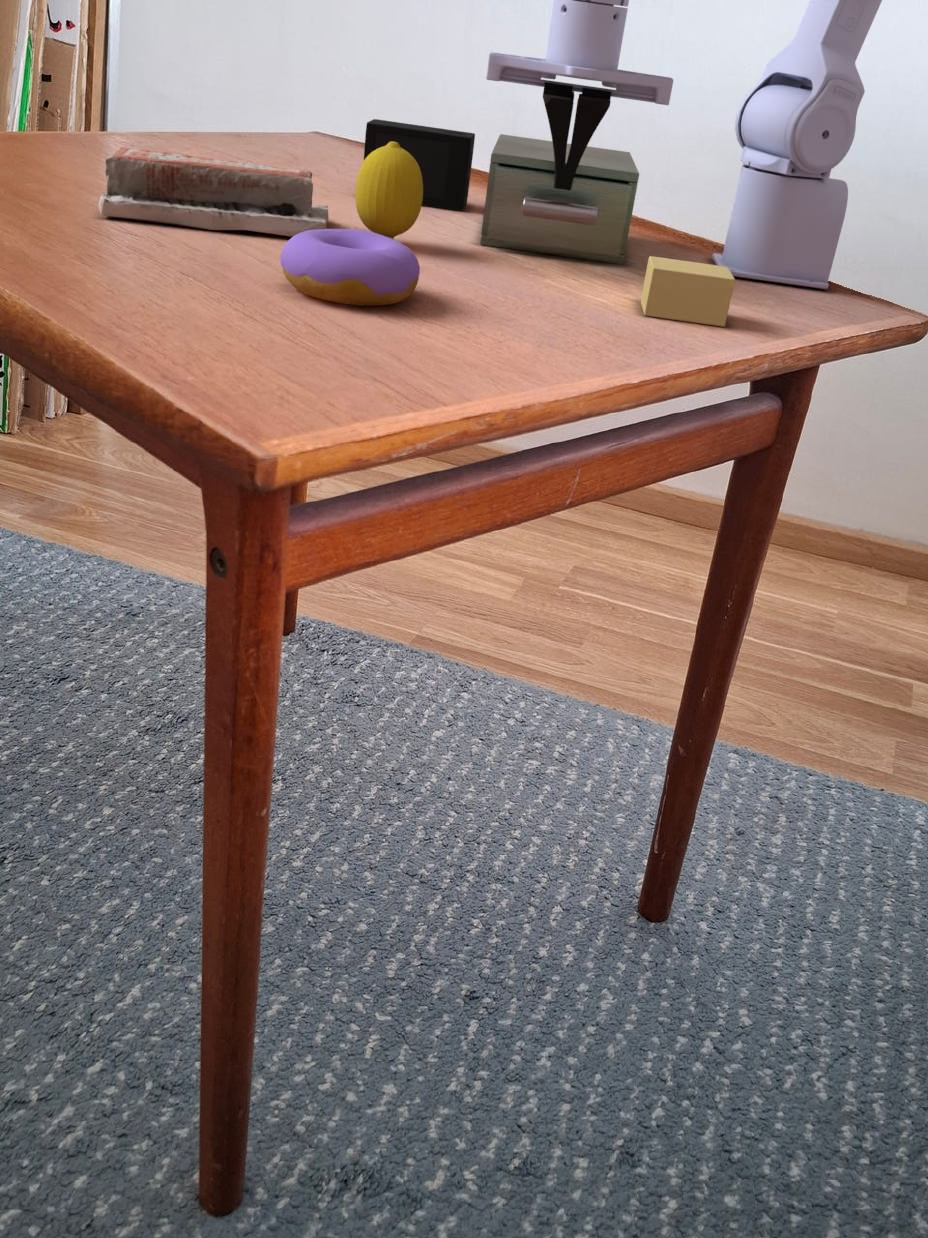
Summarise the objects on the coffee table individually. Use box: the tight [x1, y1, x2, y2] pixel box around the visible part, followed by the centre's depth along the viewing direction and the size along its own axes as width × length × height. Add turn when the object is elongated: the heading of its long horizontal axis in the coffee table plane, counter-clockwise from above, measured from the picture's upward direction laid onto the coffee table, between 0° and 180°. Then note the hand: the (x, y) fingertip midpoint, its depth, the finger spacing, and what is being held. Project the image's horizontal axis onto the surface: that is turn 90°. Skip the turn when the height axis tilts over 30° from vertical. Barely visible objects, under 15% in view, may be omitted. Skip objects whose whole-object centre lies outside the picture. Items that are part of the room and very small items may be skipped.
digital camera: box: [363, 118, 476, 212], centre depth 119 cm, size 10×5×7 cm, turn 84°
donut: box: [280, 228, 421, 306], centre depth 82 cm, size 10×9×5 cm
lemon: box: [354, 142, 423, 239], centre depth 98 cm, size 6×6×8 cm
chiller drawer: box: [487, 165, 631, 257], centre depth 105 cm, size 19×11×6 cm, turn 176°
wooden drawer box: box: [479, 133, 640, 265], centre depth 109 cm, size 16×13×8 cm
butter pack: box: [640, 255, 736, 328], centre depth 89 cm, size 6×4×4 cm
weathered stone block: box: [97, 146, 329, 238], centre depth 99 cm, size 18×5×10 cm
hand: (562, 187), depth 98 cm, fingers closed
